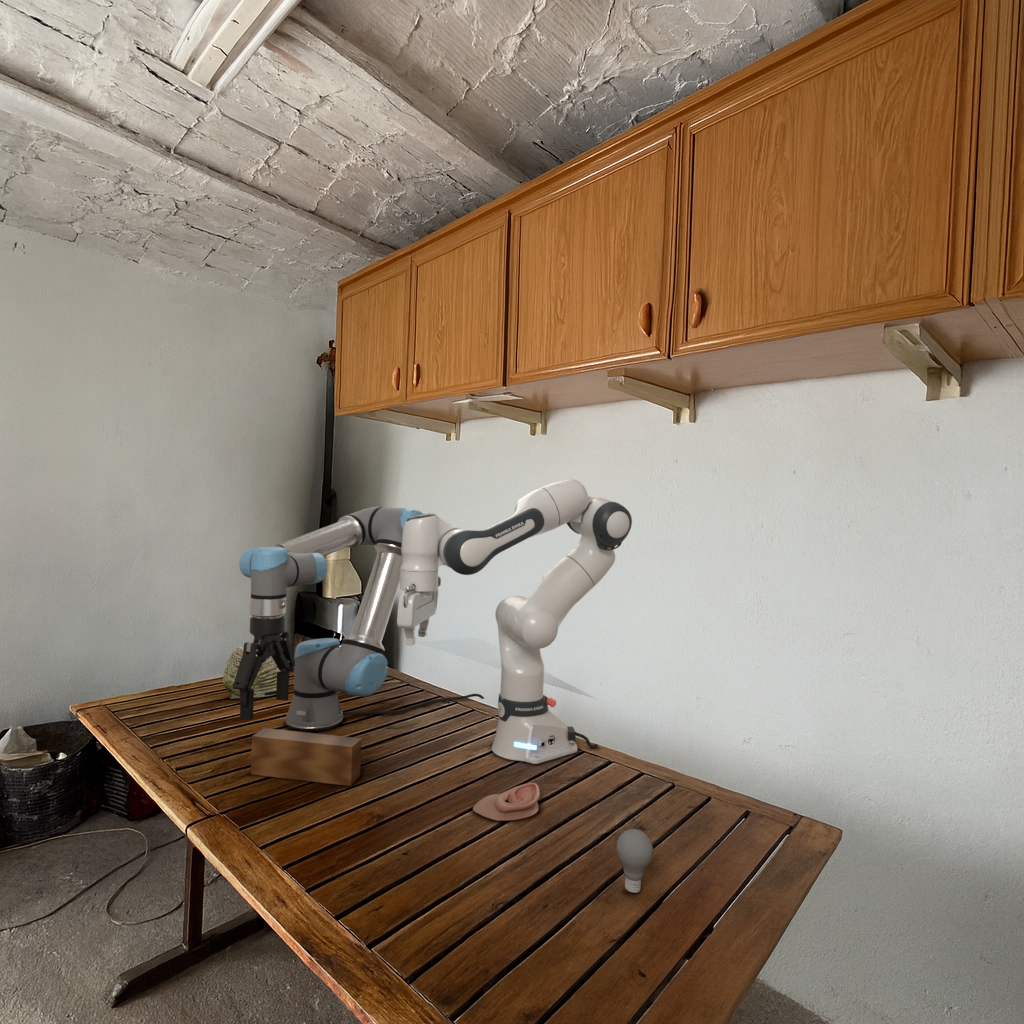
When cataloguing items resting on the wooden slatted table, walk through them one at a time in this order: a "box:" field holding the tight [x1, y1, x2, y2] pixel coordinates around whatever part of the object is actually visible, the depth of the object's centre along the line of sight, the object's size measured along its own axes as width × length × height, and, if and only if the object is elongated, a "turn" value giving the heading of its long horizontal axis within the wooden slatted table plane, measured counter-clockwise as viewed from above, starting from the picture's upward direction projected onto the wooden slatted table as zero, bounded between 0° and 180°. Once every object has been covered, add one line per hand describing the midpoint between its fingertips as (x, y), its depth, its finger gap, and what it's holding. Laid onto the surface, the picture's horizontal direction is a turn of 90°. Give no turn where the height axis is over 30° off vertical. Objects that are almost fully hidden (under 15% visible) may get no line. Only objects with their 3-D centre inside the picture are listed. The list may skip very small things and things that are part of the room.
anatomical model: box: [472, 782, 541, 822], centre depth 132 cm, size 13×4×12 cm
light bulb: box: [615, 828, 654, 894], centre depth 106 cm, size 6×6×10 cm
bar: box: [250, 727, 362, 787], centre depth 144 cm, size 24×5×9 cm, turn 81°
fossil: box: [222, 646, 281, 699], centre depth 198 cm, size 9×18×15 cm, turn 132°
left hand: (265, 709), depth 144 cm, fingers open, 13 cm apart
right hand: (416, 640), depth 150 cm, fingers open, 8 cm apart
